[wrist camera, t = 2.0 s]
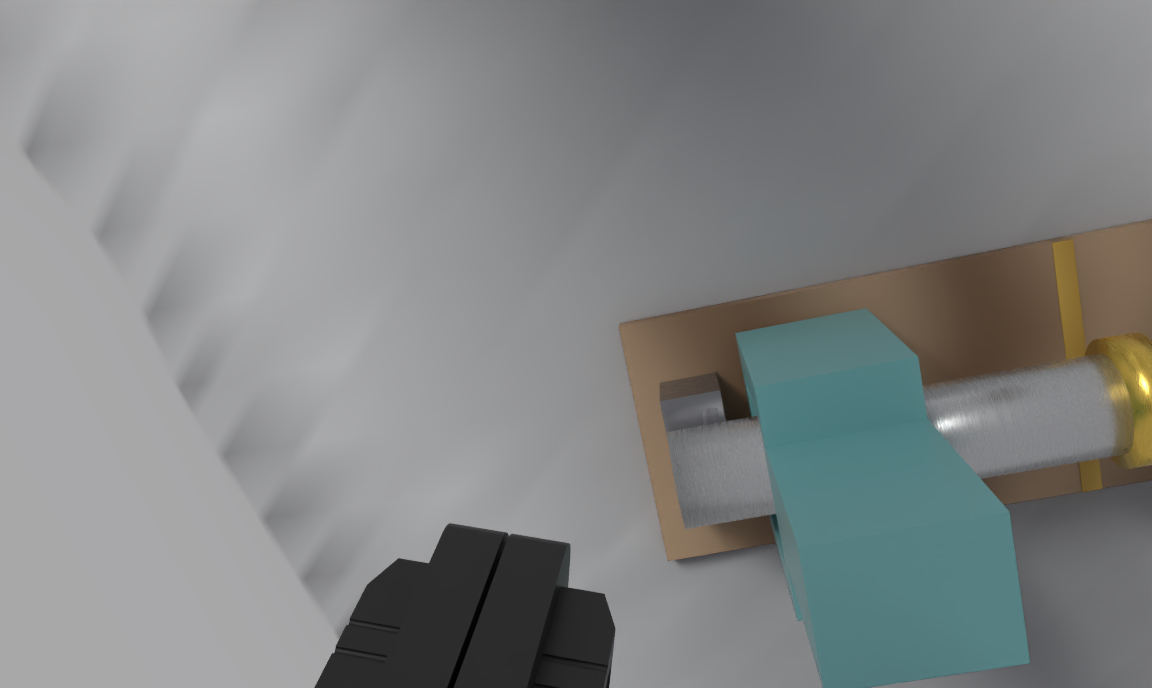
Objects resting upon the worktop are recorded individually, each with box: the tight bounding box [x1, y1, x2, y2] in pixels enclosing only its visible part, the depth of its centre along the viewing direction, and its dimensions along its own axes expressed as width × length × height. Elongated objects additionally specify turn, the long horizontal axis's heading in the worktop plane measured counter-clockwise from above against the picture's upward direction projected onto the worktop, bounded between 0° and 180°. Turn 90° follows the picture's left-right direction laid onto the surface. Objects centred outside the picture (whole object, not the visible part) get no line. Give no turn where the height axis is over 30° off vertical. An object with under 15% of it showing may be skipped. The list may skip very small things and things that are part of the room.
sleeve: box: [735, 308, 1030, 688], centre depth 26 cm, size 4×6×12 cm, turn 12°
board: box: [619, 219, 1152, 561], centre depth 33 cm, size 20×8×1 cm, turn 102°
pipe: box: [659, 332, 1152, 529], centre depth 29 cm, size 18×4×7 cm, turn 102°
